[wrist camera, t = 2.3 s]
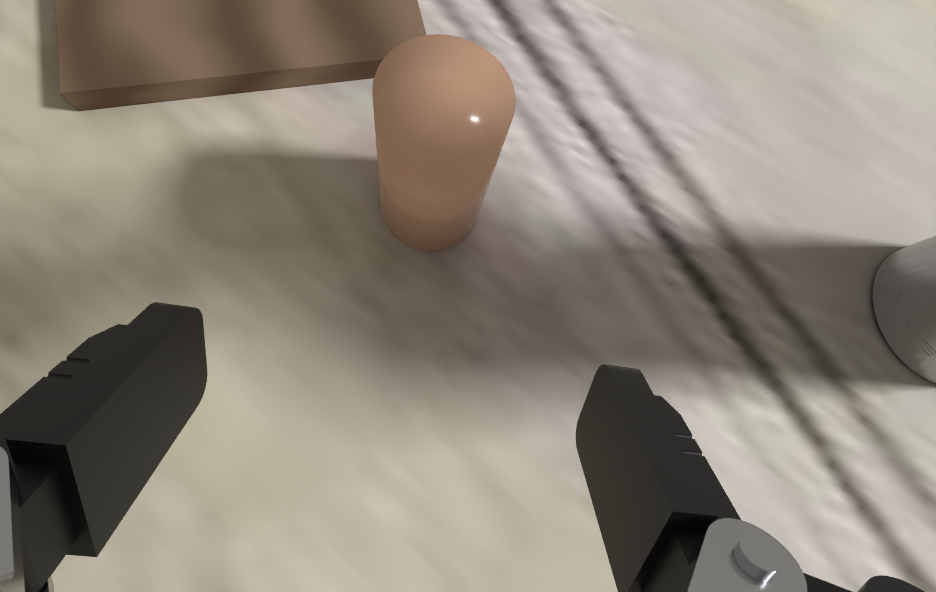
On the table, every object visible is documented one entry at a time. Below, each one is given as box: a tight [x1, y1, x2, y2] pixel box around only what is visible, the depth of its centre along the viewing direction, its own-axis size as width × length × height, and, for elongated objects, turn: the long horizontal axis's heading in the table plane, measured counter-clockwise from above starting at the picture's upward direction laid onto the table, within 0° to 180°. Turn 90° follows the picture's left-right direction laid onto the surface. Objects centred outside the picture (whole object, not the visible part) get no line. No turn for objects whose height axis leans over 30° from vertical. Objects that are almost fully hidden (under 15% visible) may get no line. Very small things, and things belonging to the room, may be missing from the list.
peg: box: [373, 34, 515, 251], centre depth 24 cm, size 6×6×10 cm
